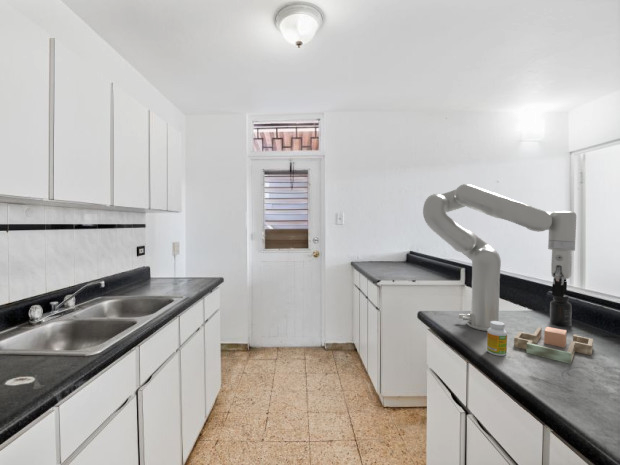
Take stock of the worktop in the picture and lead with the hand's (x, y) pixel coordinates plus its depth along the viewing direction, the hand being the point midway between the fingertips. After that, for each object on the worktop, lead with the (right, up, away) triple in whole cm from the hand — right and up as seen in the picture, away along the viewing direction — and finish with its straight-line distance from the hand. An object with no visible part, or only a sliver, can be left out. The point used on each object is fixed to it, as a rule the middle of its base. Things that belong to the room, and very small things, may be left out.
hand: (559, 293), depth 112 cm
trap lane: (-9, -16, -9) cm, 21 cm away
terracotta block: (-5, -16, -5) cm, 18 cm away
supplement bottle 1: (-30, -17, -12) cm, 37 cm away
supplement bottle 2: (+12, -15, +14) cm, 24 cm away
